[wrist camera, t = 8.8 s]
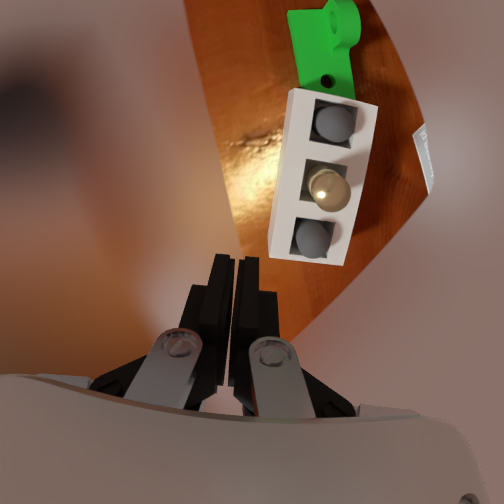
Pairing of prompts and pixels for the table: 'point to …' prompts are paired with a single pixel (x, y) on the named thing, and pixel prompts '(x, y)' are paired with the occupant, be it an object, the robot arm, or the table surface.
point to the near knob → (333, 123)
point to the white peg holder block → (311, 153)
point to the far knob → (311, 237)
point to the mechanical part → (325, 46)
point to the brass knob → (327, 188)
